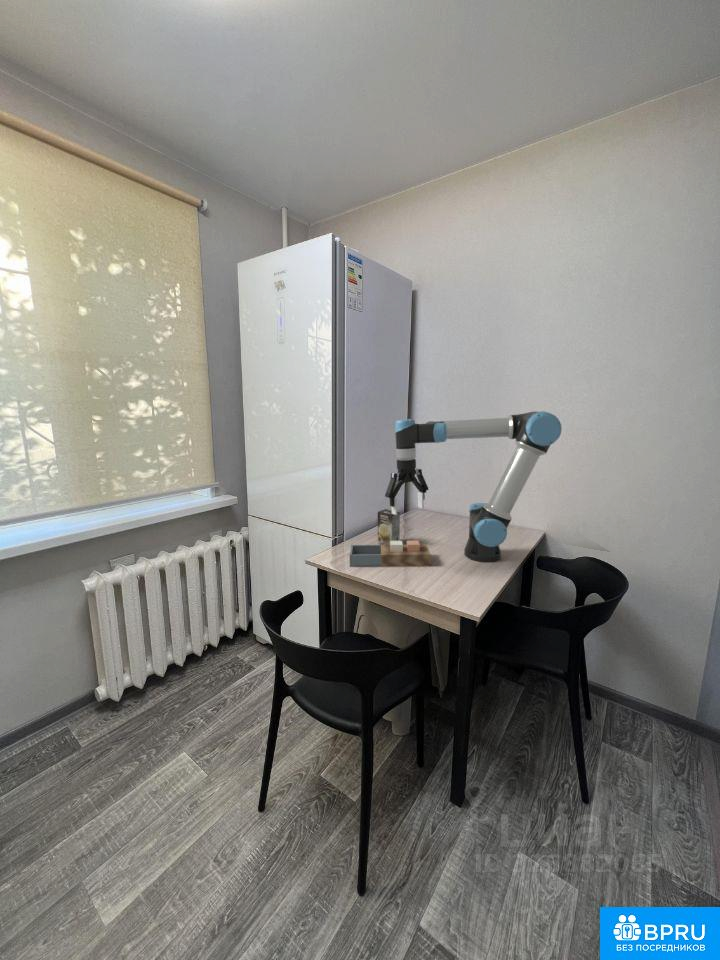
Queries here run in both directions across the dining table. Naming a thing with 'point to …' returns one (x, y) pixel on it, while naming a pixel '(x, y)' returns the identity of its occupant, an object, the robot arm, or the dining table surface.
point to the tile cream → (396, 546)
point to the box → (365, 556)
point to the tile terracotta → (413, 546)
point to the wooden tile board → (405, 557)
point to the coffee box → (388, 527)
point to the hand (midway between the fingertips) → (407, 511)
